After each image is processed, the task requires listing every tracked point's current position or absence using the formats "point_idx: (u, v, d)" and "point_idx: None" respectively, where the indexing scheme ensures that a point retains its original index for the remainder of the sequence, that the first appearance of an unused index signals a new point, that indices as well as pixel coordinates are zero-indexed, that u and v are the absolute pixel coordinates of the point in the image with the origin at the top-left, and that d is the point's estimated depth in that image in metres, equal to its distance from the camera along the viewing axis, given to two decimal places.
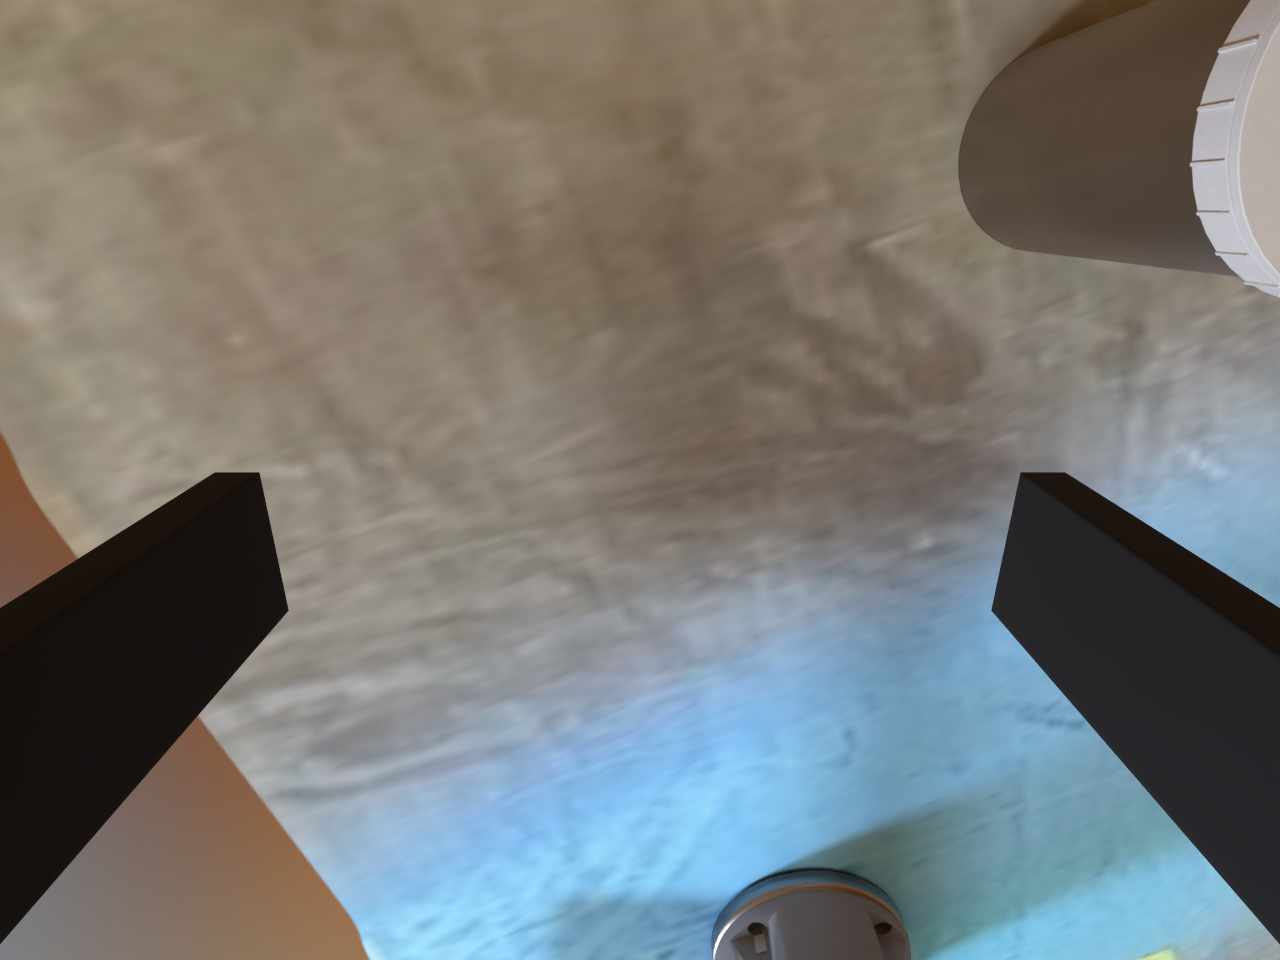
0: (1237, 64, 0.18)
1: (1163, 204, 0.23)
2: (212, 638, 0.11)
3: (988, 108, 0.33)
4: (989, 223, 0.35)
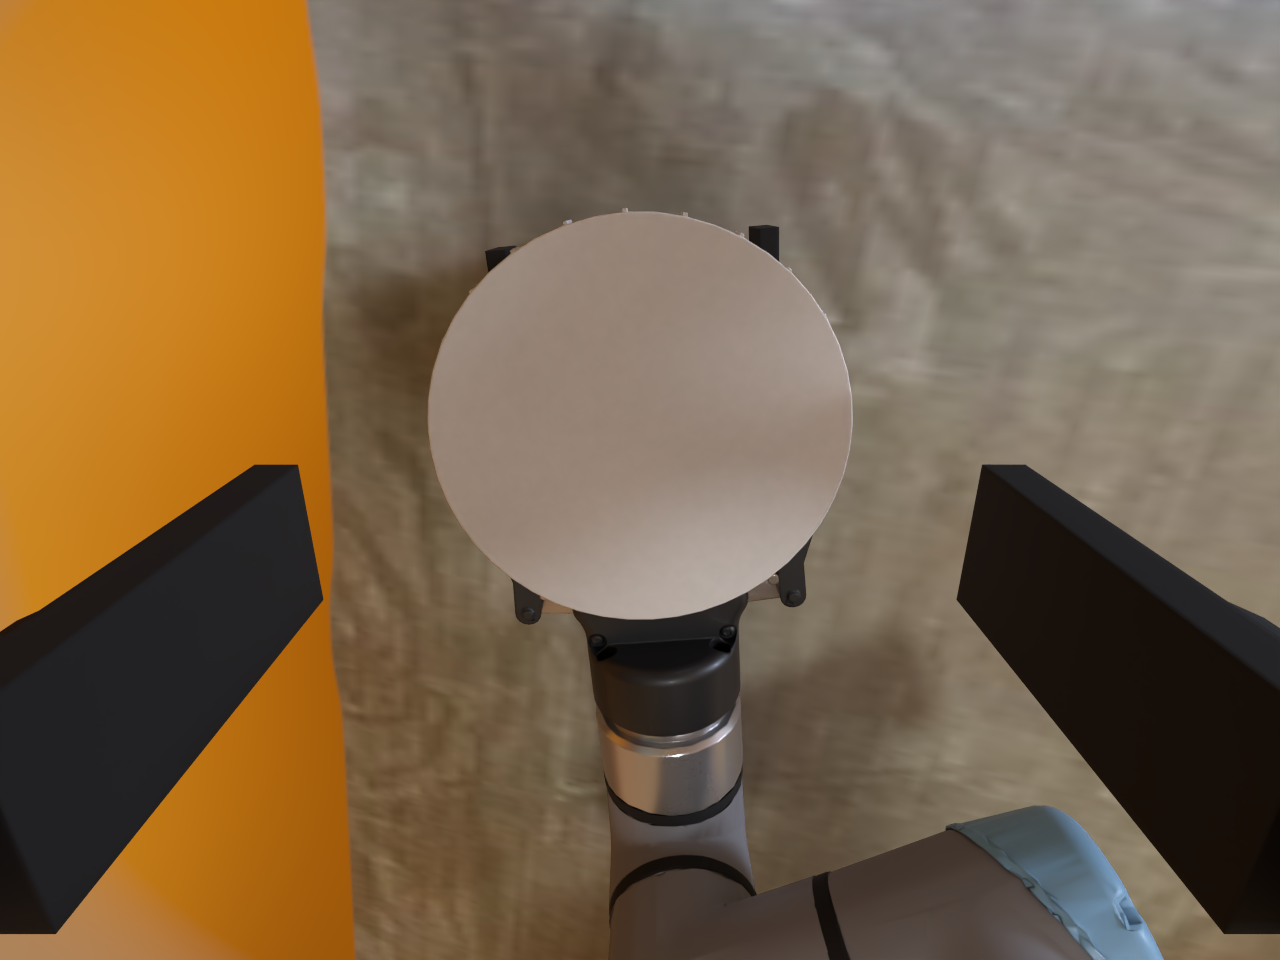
0: None
1: None
2: (256, 624, 0.11)
3: None
4: None
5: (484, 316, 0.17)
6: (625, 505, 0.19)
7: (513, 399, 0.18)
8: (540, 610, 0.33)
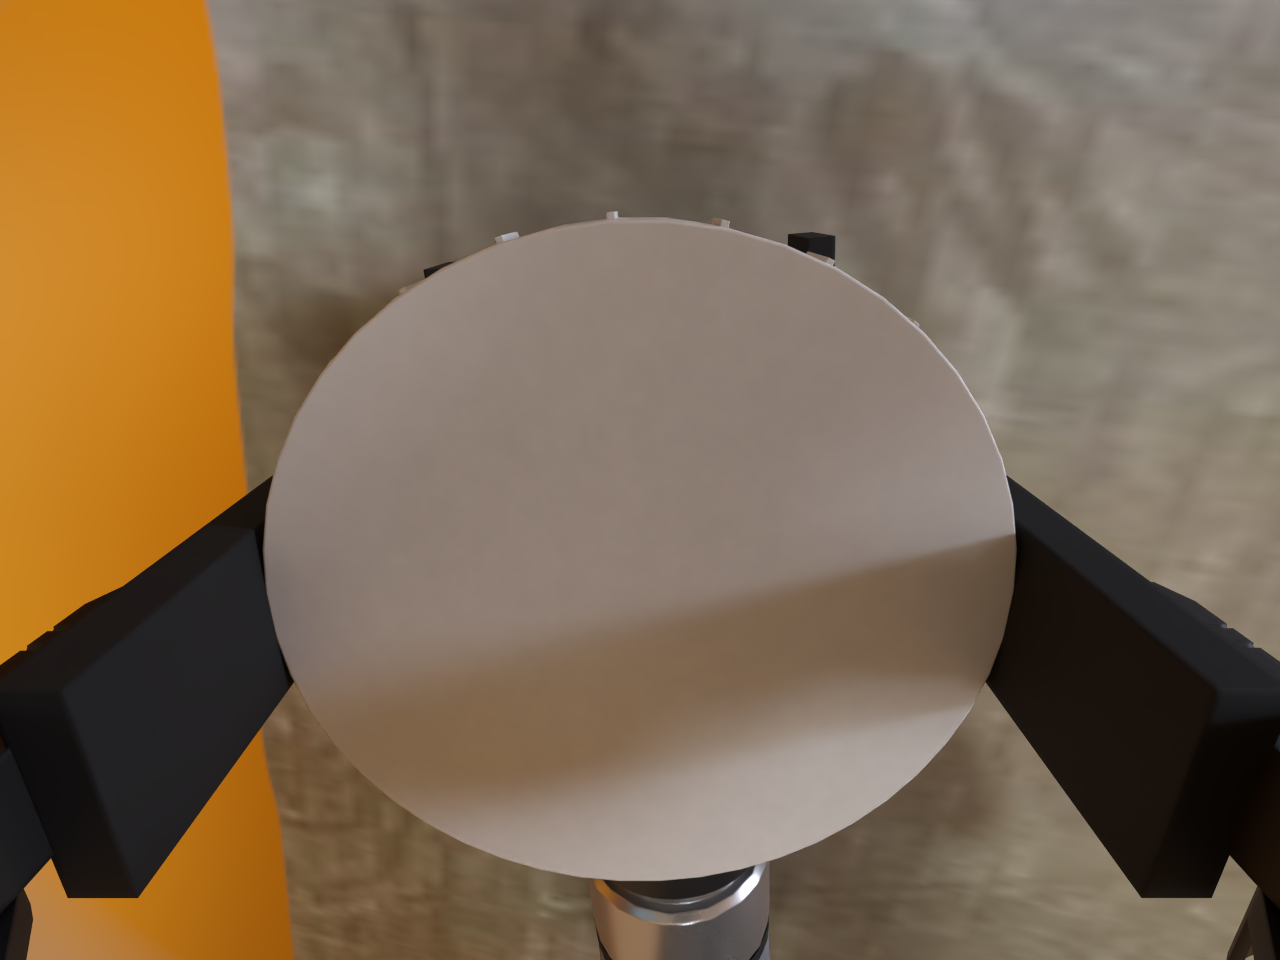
0: None
1: None
2: None
3: None
4: None
5: (352, 411, 0.09)
6: (614, 717, 0.11)
7: (414, 551, 0.10)
8: None
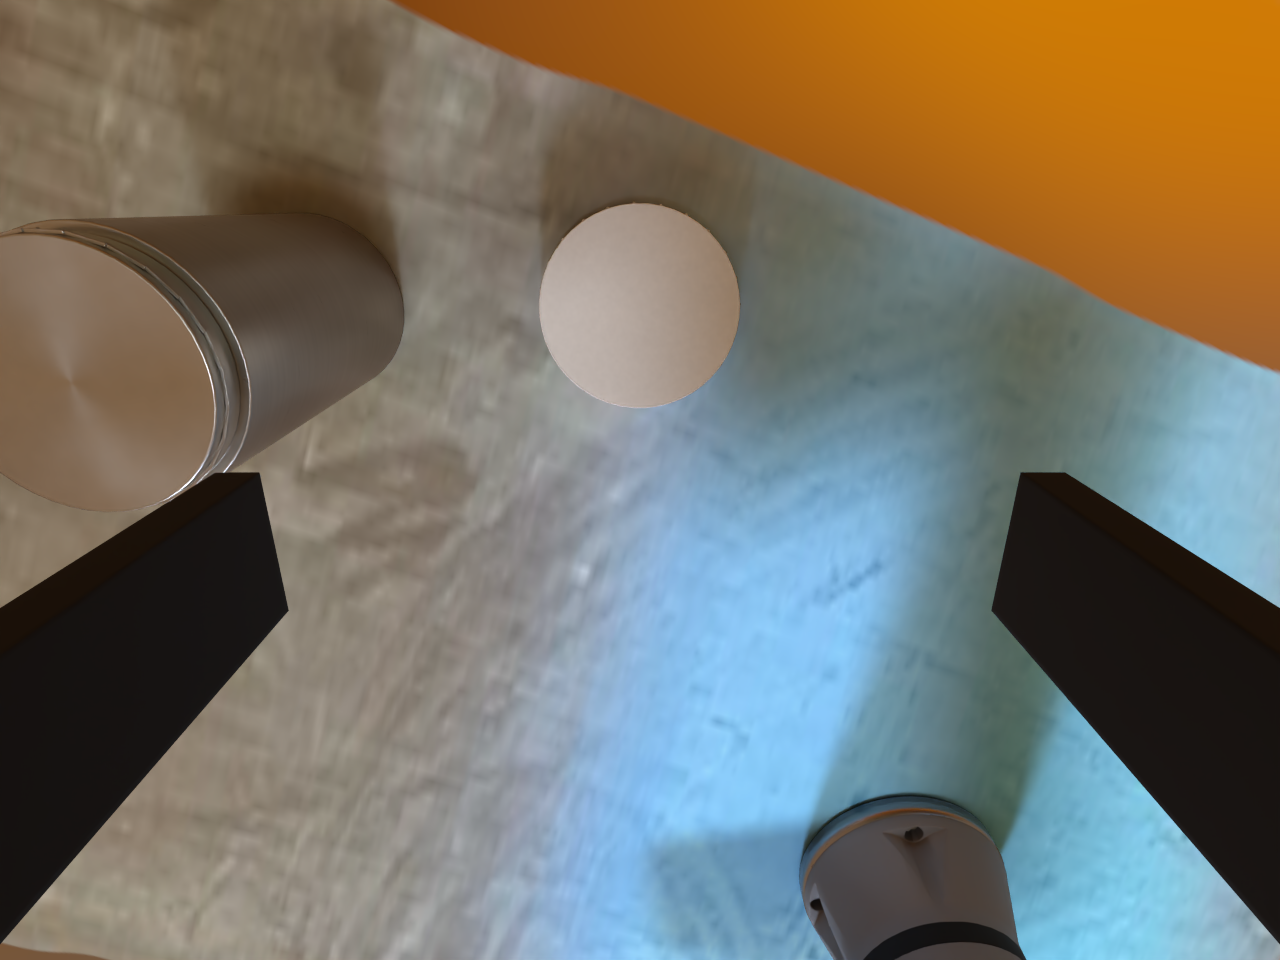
0: None
1: None
2: (212, 638, 0.11)
3: None
4: None
5: (631, 215, 0.36)
6: (610, 330, 0.38)
7: (611, 252, 0.37)
8: None
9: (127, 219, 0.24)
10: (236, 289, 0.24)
